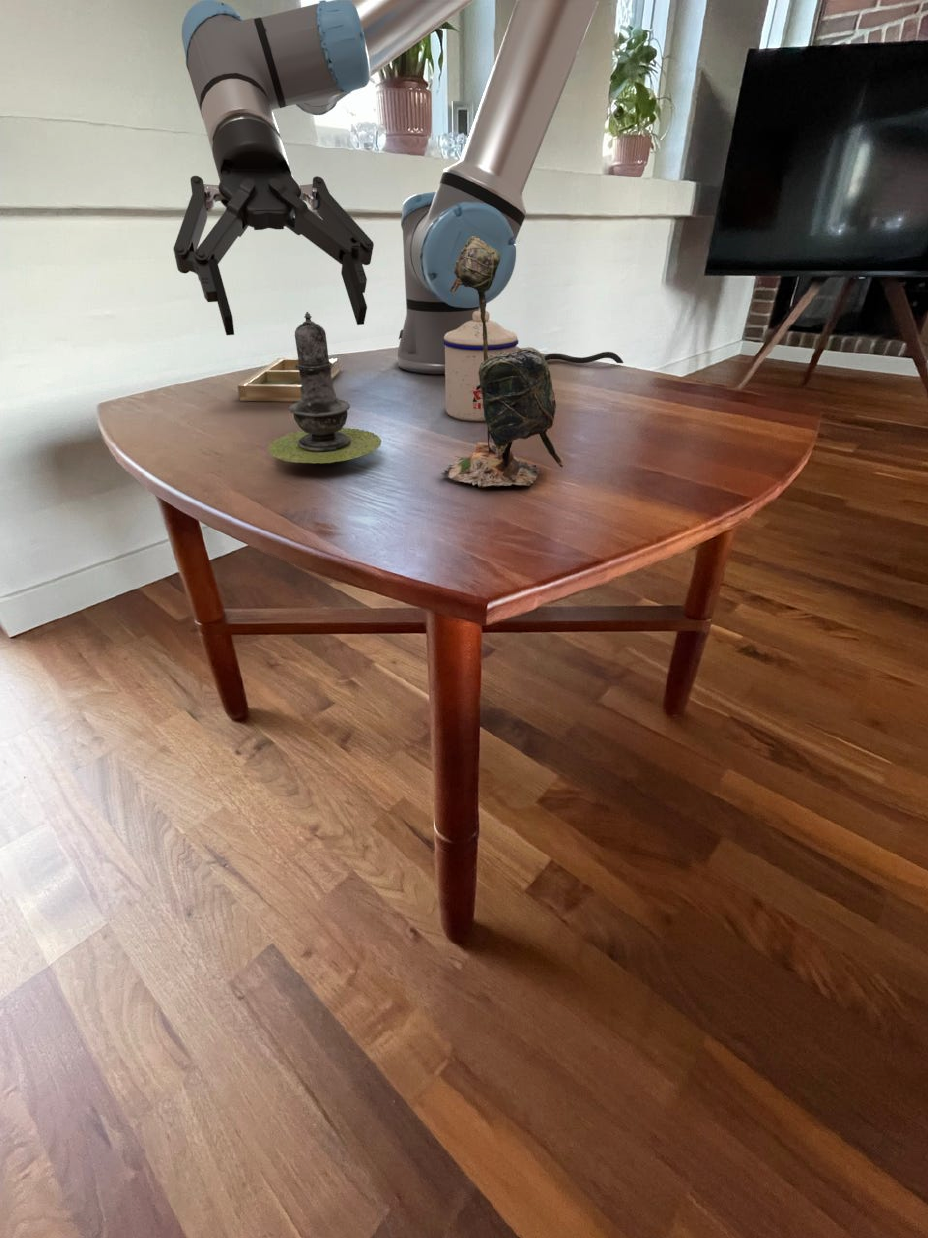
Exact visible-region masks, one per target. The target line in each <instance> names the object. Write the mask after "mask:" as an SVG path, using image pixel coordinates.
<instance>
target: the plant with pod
mask: <svg viewBox="0 0 928 1238" xmlns="http://www.w3.org/2000/svg"><path fill="white" fill-rule="evenodd" d="M499 262H500V255H499V253H498V252H497V250H494V249H493V248H492V247H491V246H490V245H487V244H485V243H484V242H483V241H482V240H481V239H479V237H477V236H472V237H471V238H469V239H468V240H467V243H466V244H465V245H464V248H463V250H462V252H461V256H460V258H458V260H457V261H456V267H454V268H455V274H456V280H455V282H454V285H453V286H452V287H451V289H450V291H451V292H455V291H456V290H457V288H458V286H460V285H464V286H465V287H471V288H474V289H476V290H477V291H478V295H479V306H480V312H481V320H482V323H483V353H484V362H483V363H481V366H480V368H479V373H478V374H479V380H480V385H481V391H482V398H483V409H484V418H485V421H484V423H486V425H487V432H486V433H487V442H481V441H478V442H477V443H476V445H475V451H474V452H472V454H471V455H469V456H462V457H460V456H455V455H454V457H456V459H455V460H454V461H453V463H452V464H449V465H448V467H447V468H446V469H443V472H441V475H442V476H443V477H446V478H448V479H451V480H454V481H455V482H463V483H468V484H472V486H475V485H477V486H478V488H485V487H505V486H514V485H515V486H531V484H534V483H535V482H534V481H536V479H537V478H538V475H540V470H539V467H538V466H537V465H536V464H534V465H531V464H529V463H528V462H526V461H518V460H517V459H515V456H514V453H513V451H511V449H512V445H513V443H514V442H515V441H517V440H520V439H521V440H527V439H529V438H530V437H533V436H537V435H539V437H540V439H541V441H542V444H543V445H544V446H545V448H546V450H547V453H549V455H550V456H551V457H552V458H553V460H554V462H555V463H556V464H557V465H558V466H559V467H560V468H563V467H564V466H565V463H564V459H563V458H562V457H561V456H560V455H559V454H558V453H557V452H556V450H555V447H554V445H553V443H552V441H551V440H550V437H549V436H548V434H547V432H548V430H549V429H551V428H552V427H553V426H554V421H555V414H556V409H557V403H556V396H555V394H556V393H555V392H554V389H553V380H552V378H551V377H552V376H551V371H550V368H549V364H548V362H547V361H545V357H544V355H545V354H544V353H541V352H540V350H538V349H536V348H535V347H529V346H528V347H520V349H516V350H510V351H508V352H501V353H499V354H497V355H495V356H492V355H491V356H490V357H489V358H488V354H487V350H488V348H487V347H488V341H487V327H486V320H485V313H486V311H487V309H486V308H487V304H486V300H485V291H488V290H489V289H490V287H491V285H492V282H493V280H494V278H495V274H496V270H497V268H498V265H499ZM490 439H491V440H492V442H493V444H492V443H490Z"/></svg>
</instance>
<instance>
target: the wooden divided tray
mask: <svg viewBox="0 0 928 1238" xmlns="http://www.w3.org/2000/svg"><path fill="white" fill-rule="evenodd" d="M329 362H331V363H332V364H333V367H332V368H331V376H332V380H333V379H334V378H335V377H336V376H337V375H338V374H339V373H340V367H339V358H329ZM298 363H299V361H298V357H296V358H295V357H294V358H293V357H288V358H287V357H285V358H284V357H279V358H276V359H275V360H273V361H272V362H271V363H269V364H268V365H267V366H265V367H263V368H262V369H260V370H259V371H257V372H255V373H254V374H252V375H251V376H250V377H248V378H247V379H245V380H243V381H242V382H241V383H239V384H237V391H238V396H239V400H240V401H241V402H291V403H292V402H294V403H297V402H299V400H300V399H301V389H302V388H301V381H300V374H299V370H298V369H296V368H295V366H296V365H297V364H298Z"/></svg>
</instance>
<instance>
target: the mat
mask: <svg viewBox="0 0 928 1238" xmlns="http://www.w3.org/2000/svg"><path fill="white" fill-rule="evenodd" d="M338 432H340V433H343V434H345V435H346V436H348V437H349V438H350V439H351V441H350V443H349V444H348V445H347V446H345V447H342V448H339V449H334V450H327V451H312V450H306V449H302V448H301V447H299V446H298V441H299V440H300V439H301V438H302V437H304V436H305V435H307V434H309V433H306V432H304V431H303V430H300V431H295V432H292V433H288V434H285V435H284V436H281V437H279V438H277V439H275V440H273V441H272V442H271V443H270V444H269V447H268V452H269V454H271V456H273V457H275V458H277V459H279V460H281V461H283V462H284V461H285V462H288V463H289V462H290V463H296V464H298V463H301V464H320V465H322V464H334V463H335V462H337V463H339V462H345V461H350V460H353V459H357V458H360V457H365V456H367V455H369V454H371V453H373V452H374V451H376V450H378V449H379V448H380V447H381V446H382V439H381V438H380V436H378V435H377V434H375V433H374V432H371V431H368V430H365V429H358V428H348V427H342V429H341V430H340V431H338Z"/></svg>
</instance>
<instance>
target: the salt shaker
mask: <svg viewBox="0 0 928 1238" xmlns="http://www.w3.org/2000/svg"><path fill="white" fill-rule="evenodd" d="M303 318H305V321H303V322H302V324H299V325H298V326H297V327H296V328H295V330H294V340H295V346H296V354H297V358H298V361H299V363H298V364H297V365H296V366H295V368H296V369H298V370H299V374H300V381H301V388H302V389H301V399H300V400H299V402H294V403H293V404H291V405H290V406H289V409H288V410H289V413H290V414H292V415H293V420H294V421H295V424H297V426H298V428H299V429H300V430H301V431H304V432H306V433H309V434H307V435H305V436H304V437H302V438H301V439H300V440H299V441H298V446H299V447H301V448H302V449H306V450H312V451H327V450H334V449H339V448H342V447H345V446H347V445H348V444H349V443H350V441H351V439H350V438H349V437H348V436H346V435H345V434H343V433H340V432H338V431H340V430H341V429H342V428H344V426H345V425H346V423H347V420H348V415H349V414H348V411H349V410H350V408H351V405H350V403H349V402H348V401H346V400H343V399H340V398H339V397H337V395H336V392H335V389H334V385H333V379H332V376H331V368H332V367H333V364H332V363H331V362H329V359H330V358H329V350H328V343H327V342H328V341H327V336H326V335H327V334H326V330H325V329H324V327H323V326H321V325H320V324H318V323H315V322H314V321H312V315H311V313H309V311H306V313H305V314H304V316H303Z"/></svg>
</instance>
